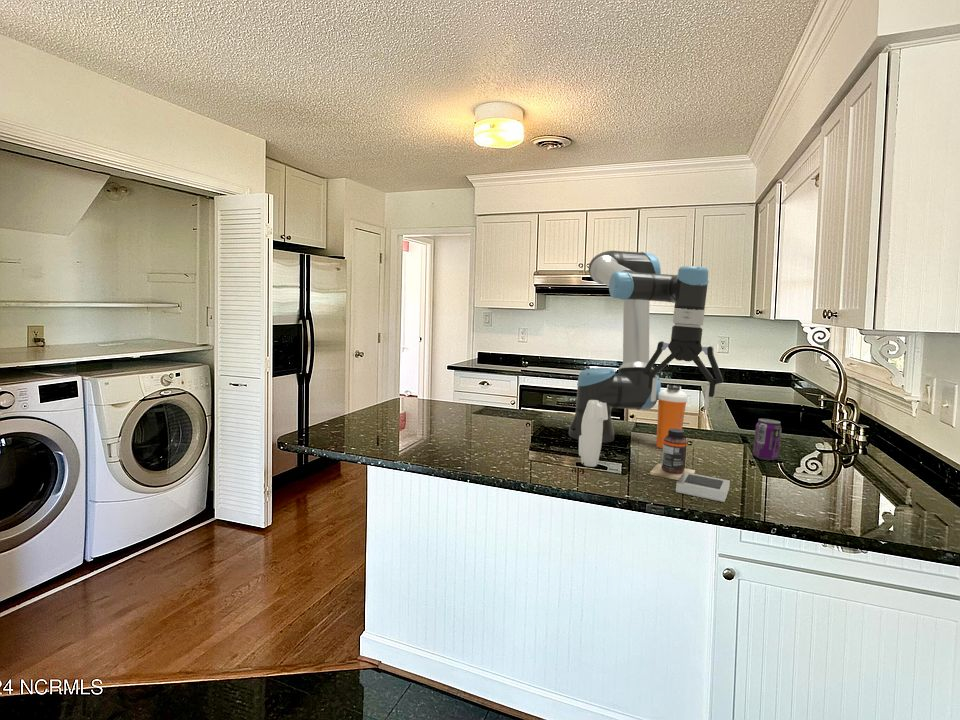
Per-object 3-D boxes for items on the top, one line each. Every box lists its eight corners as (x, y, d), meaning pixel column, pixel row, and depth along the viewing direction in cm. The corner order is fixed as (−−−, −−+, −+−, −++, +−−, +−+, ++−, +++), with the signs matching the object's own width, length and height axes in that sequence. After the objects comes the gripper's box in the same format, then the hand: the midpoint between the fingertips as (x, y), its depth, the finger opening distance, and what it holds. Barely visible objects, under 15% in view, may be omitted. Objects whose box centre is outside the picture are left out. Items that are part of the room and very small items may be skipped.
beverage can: (780, 462, 170) (785, 424, 169) (756, 460, 171) (760, 421, 170) (773, 456, 177) (778, 419, 176) (749, 454, 178) (753, 417, 177)
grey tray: (675, 492, 136) (676, 482, 136) (683, 480, 146) (684, 471, 145) (724, 502, 131) (725, 492, 130) (729, 489, 140) (730, 480, 140)
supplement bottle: (673, 466, 155) (678, 427, 154) (688, 473, 149) (693, 432, 148) (656, 467, 153) (660, 427, 152) (670, 474, 147) (675, 433, 146)
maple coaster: (649, 474, 149) (650, 471, 149) (657, 466, 158) (657, 463, 158) (689, 482, 144) (689, 479, 144) (694, 473, 153) (695, 470, 153)
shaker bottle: (653, 448, 177) (660, 386, 175) (652, 442, 186) (658, 383, 184) (683, 452, 175) (690, 389, 173) (680, 445, 184) (686, 385, 182)
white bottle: (607, 468, 153) (592, 460, 160) (613, 403, 151) (597, 398, 158) (586, 469, 151) (572, 461, 157) (592, 403, 149) (577, 398, 155)
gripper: (636, 322, 150) (628, 399, 152) (737, 330, 138) (727, 414, 140) (643, 321, 156) (635, 396, 159) (740, 329, 144) (730, 409, 147)
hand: (678, 404), depth 150 cm, fingers open, 13 cm apart
